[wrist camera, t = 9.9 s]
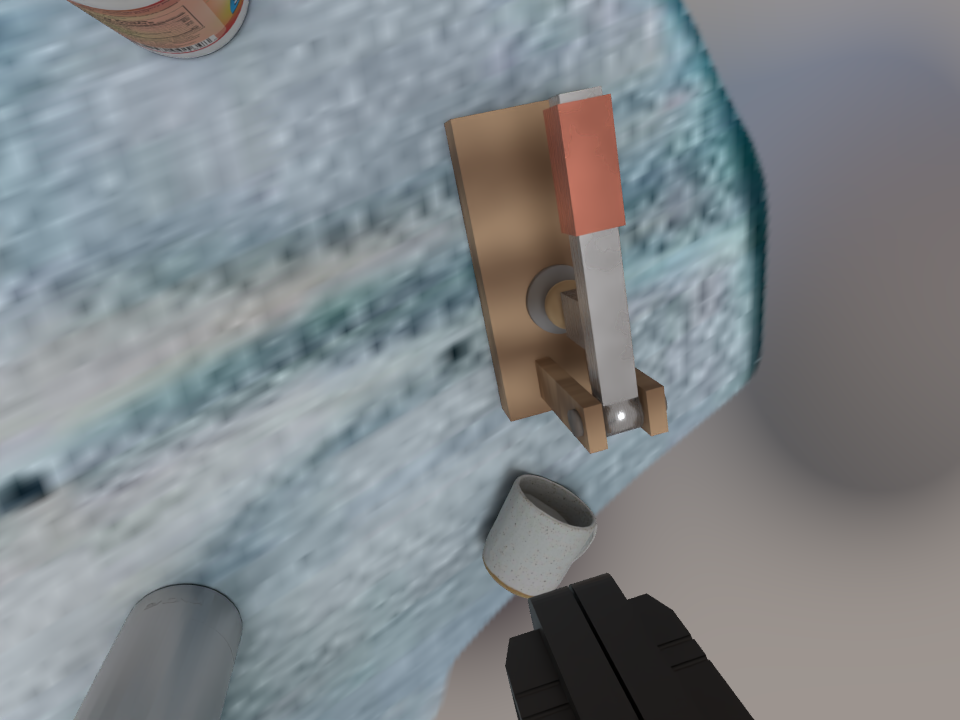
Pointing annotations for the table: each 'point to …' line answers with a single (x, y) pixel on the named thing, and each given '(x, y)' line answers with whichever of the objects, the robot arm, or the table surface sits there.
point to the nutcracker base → (528, 273)
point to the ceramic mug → (537, 536)
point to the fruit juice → (171, 23)
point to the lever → (594, 248)
